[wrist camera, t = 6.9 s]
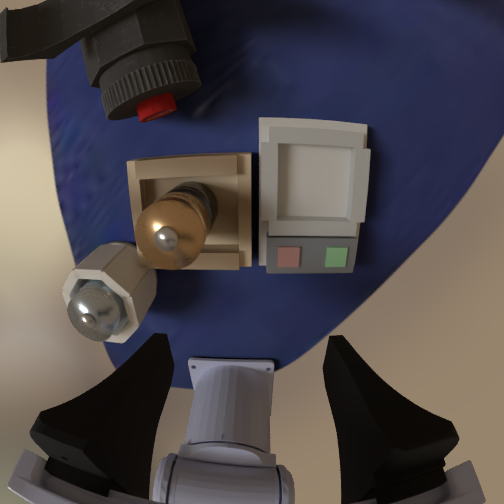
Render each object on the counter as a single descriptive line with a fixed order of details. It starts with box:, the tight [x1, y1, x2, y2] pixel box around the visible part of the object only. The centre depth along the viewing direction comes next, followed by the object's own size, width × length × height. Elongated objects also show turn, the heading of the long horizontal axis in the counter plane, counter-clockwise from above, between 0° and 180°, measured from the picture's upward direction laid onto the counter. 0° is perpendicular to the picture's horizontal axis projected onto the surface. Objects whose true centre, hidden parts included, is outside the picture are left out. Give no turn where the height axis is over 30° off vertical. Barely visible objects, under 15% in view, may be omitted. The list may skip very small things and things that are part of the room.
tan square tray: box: [127, 152, 252, 270], centre depth 19 cm, size 7×8×2 cm
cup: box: [62, 241, 158, 343], centre depth 20 cm, size 6×6×5 cm
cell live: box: [135, 181, 218, 270], centre depth 16 cm, size 4×4×6 cm
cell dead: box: [67, 279, 126, 341], centre depth 19 cm, size 4×4×6 cm
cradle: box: [259, 118, 371, 273], centre depth 18 cm, size 10×7×2 cm
